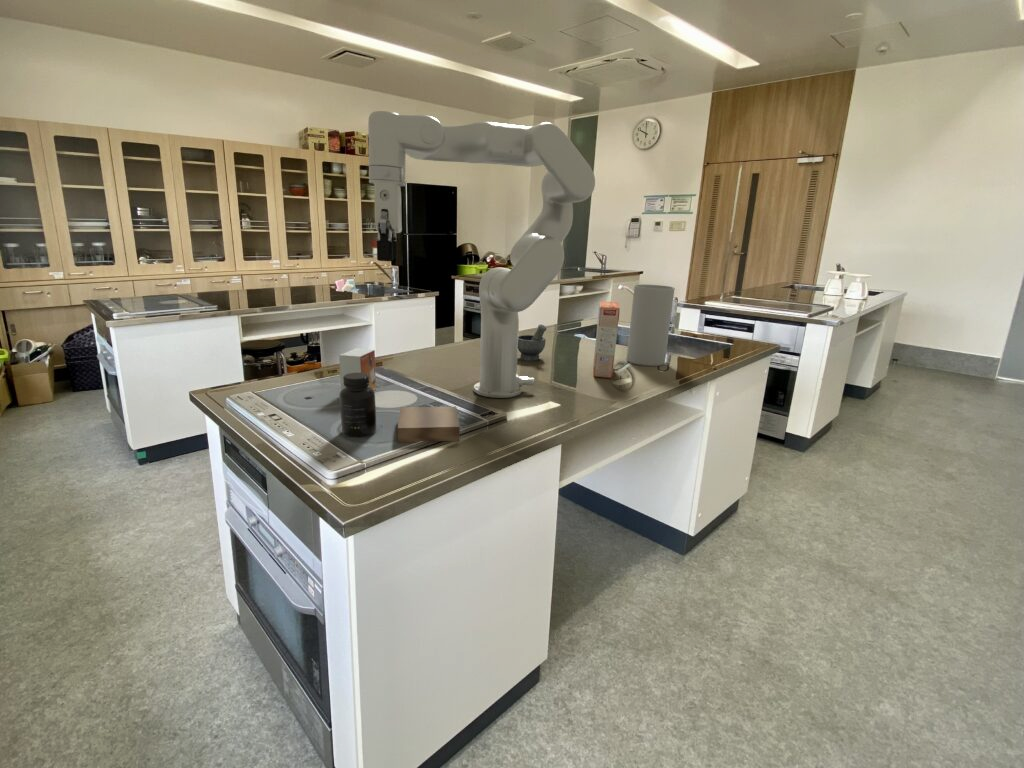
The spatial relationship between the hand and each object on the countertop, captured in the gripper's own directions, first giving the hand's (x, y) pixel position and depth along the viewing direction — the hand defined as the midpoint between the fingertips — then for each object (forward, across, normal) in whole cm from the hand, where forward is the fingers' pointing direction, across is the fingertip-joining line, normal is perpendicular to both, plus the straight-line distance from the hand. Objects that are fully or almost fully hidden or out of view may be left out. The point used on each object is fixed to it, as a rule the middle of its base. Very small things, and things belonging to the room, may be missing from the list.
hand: (387, 259), depth 114 cm
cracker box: (+32, +28, -61) cm, 74 cm away
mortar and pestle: (+32, +44, -42) cm, 69 cm away
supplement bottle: (+34, -19, +4) cm, 39 cm away
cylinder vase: (+31, +40, -80) cm, 95 cm away
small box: (+34, +7, +8) cm, 35 cm away
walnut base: (+33, -18, -10) cm, 39 cm away
